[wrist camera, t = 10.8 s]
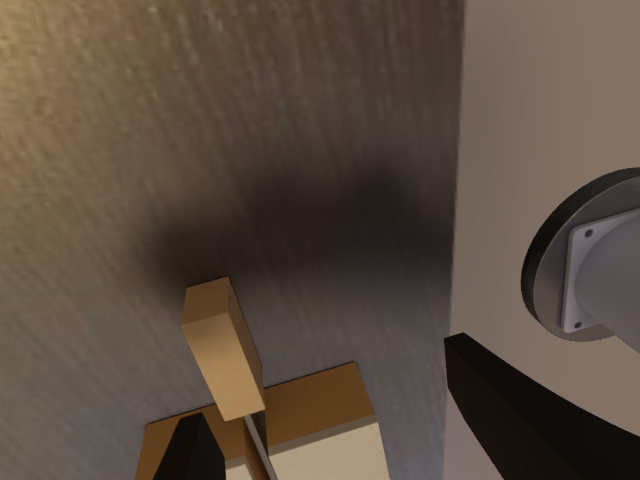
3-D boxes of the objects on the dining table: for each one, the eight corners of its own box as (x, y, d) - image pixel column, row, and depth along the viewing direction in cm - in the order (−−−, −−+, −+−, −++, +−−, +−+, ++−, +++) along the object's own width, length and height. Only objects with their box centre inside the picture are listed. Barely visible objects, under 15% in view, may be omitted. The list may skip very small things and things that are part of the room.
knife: (186, 287, 21) (179, 326, 18) (228, 275, 21) (227, 312, 19) (276, 495, 30) (281, 543, 27) (305, 485, 30) (313, 532, 27)
